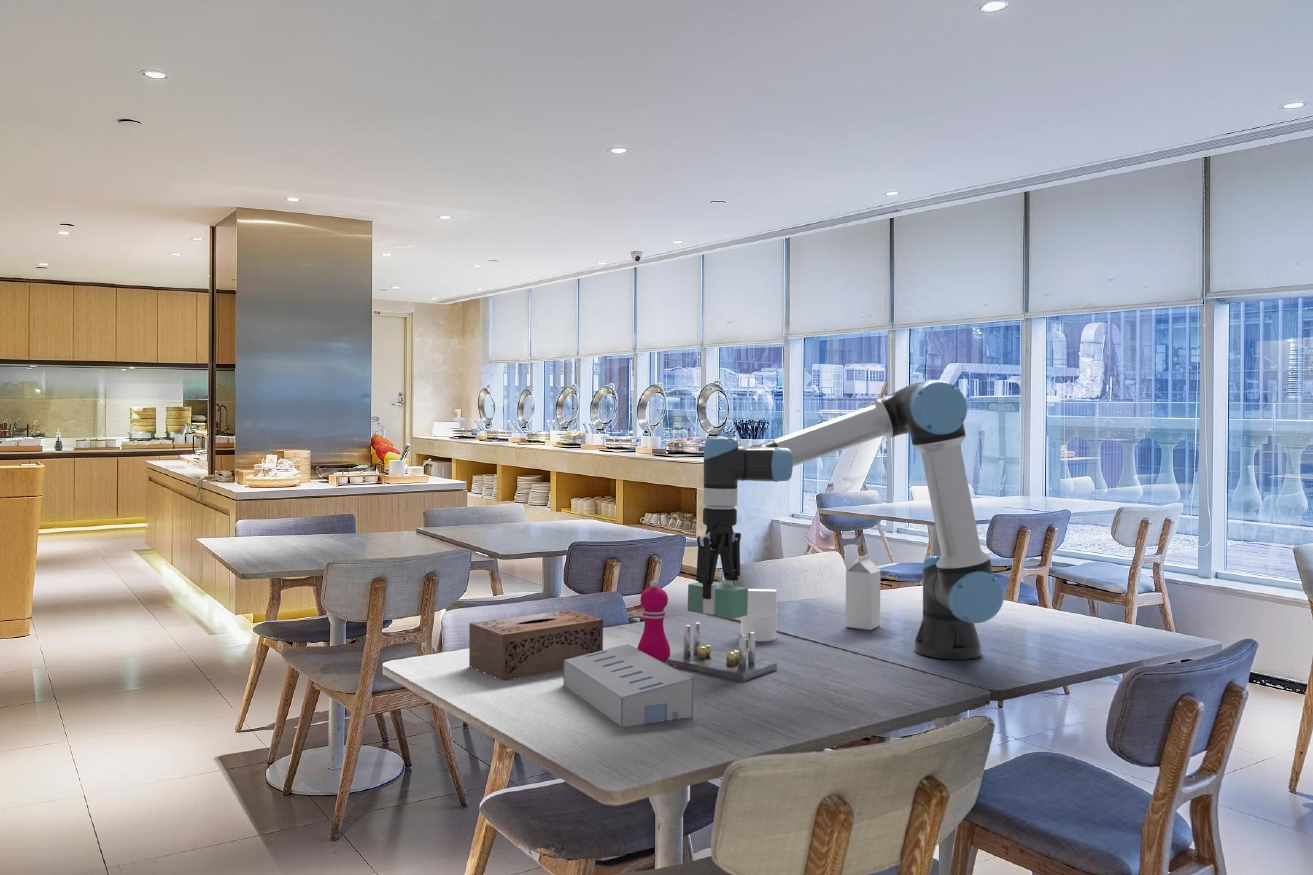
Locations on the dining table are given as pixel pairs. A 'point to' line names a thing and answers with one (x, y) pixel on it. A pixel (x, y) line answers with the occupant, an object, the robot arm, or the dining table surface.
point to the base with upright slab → (761, 614)
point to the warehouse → (630, 686)
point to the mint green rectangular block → (720, 600)
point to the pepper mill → (654, 623)
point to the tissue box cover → (532, 643)
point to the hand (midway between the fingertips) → (717, 611)
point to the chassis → (720, 658)
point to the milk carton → (863, 594)
